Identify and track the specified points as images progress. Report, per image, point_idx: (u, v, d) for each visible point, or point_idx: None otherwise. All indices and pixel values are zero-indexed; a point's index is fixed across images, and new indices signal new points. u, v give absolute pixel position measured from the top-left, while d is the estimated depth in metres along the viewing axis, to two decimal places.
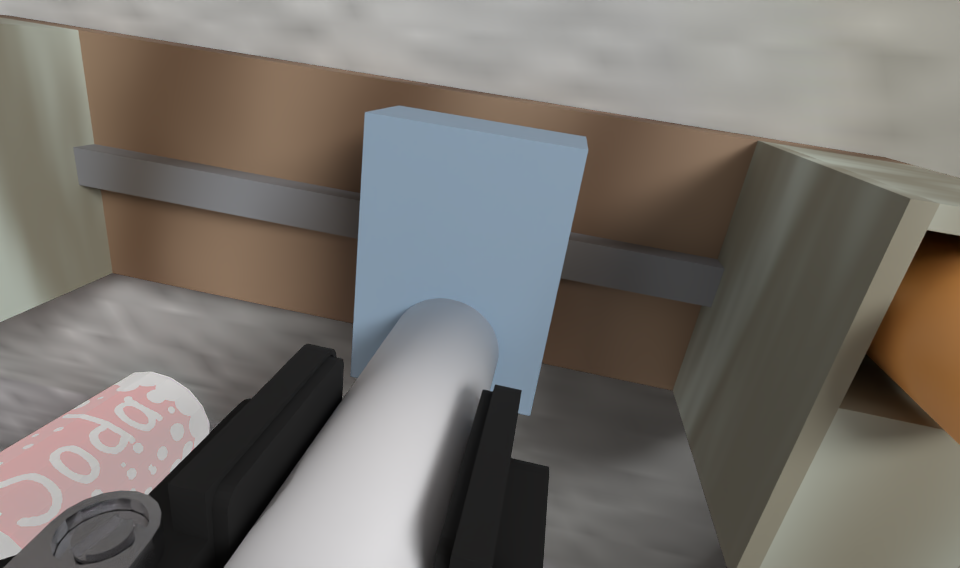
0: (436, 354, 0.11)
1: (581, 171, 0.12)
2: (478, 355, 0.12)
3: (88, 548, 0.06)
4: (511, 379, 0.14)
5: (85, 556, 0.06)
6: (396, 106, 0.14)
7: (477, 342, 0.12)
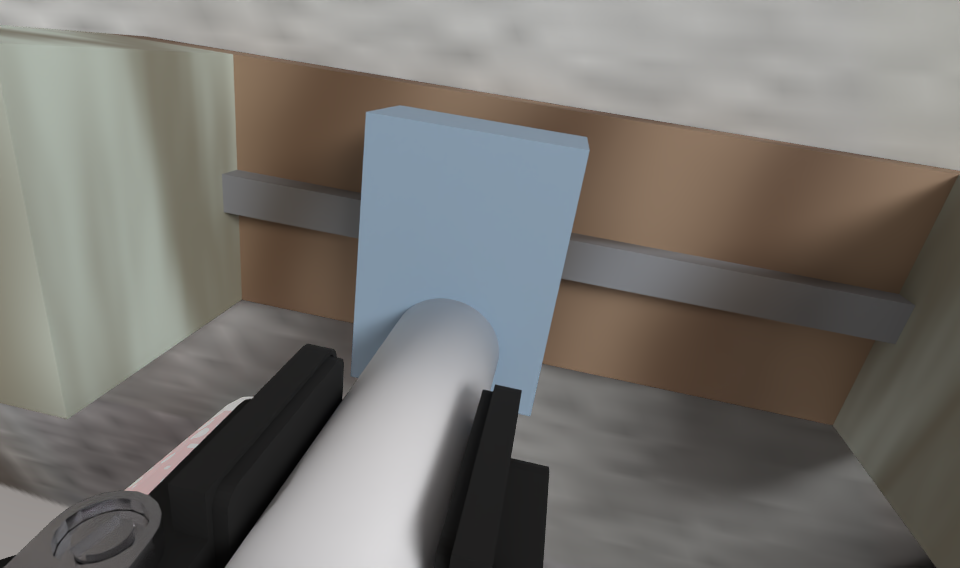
0: (436, 354, 0.11)
1: (582, 171, 0.12)
2: (479, 355, 0.12)
3: (88, 548, 0.06)
4: (511, 379, 0.14)
5: (85, 556, 0.06)
6: (397, 106, 0.14)
7: (478, 343, 0.12)
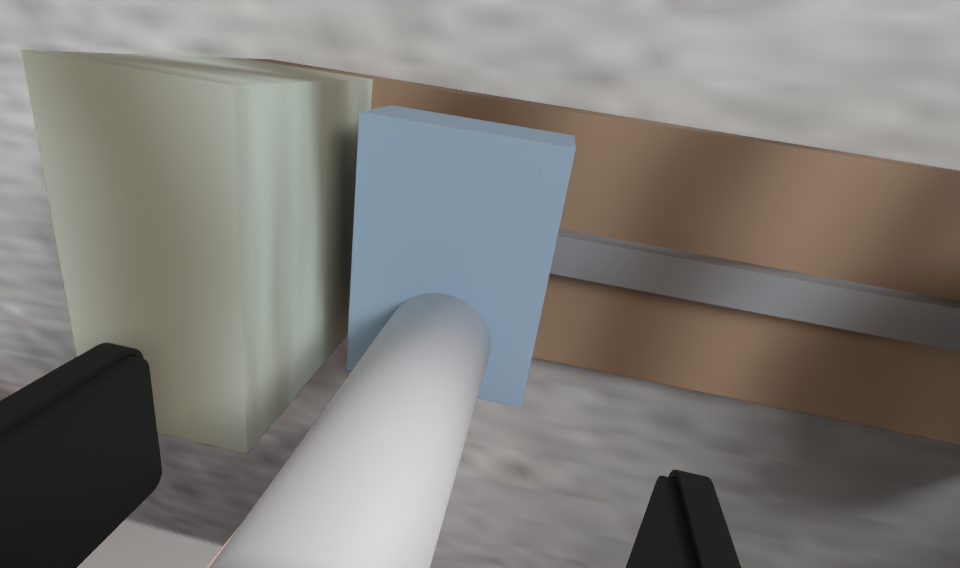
0: (428, 345, 0.11)
1: (569, 169, 0.12)
2: (470, 347, 0.12)
3: None
4: (502, 372, 0.14)
5: None
6: (390, 106, 0.14)
7: (469, 335, 0.12)
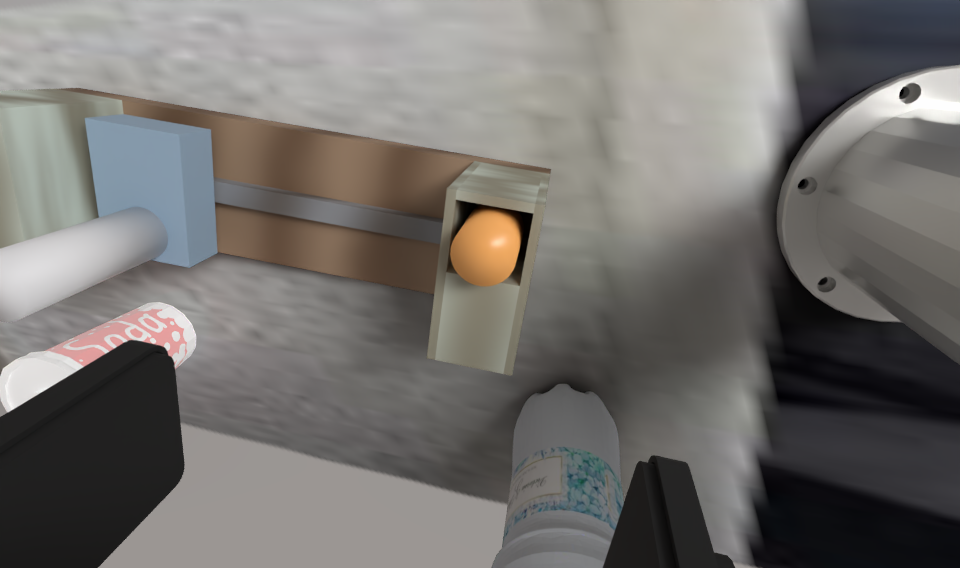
0: (104, 221, 0.25)
1: (178, 144, 0.26)
2: (136, 227, 0.26)
3: None
4: (176, 248, 0.28)
5: None
6: None
7: (140, 223, 0.26)
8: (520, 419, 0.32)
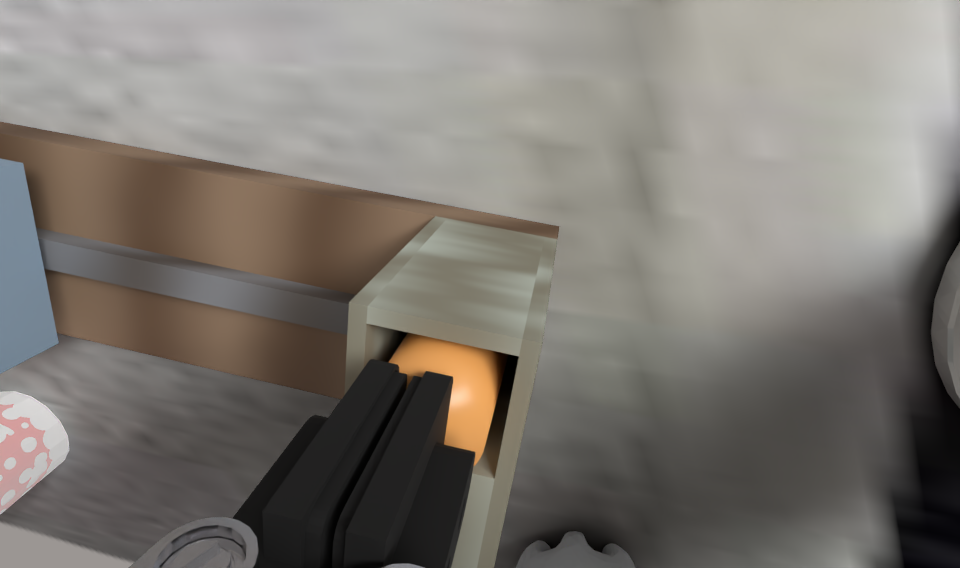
0: None
1: None
2: None
3: None
4: None
5: None
6: None
7: None
8: None
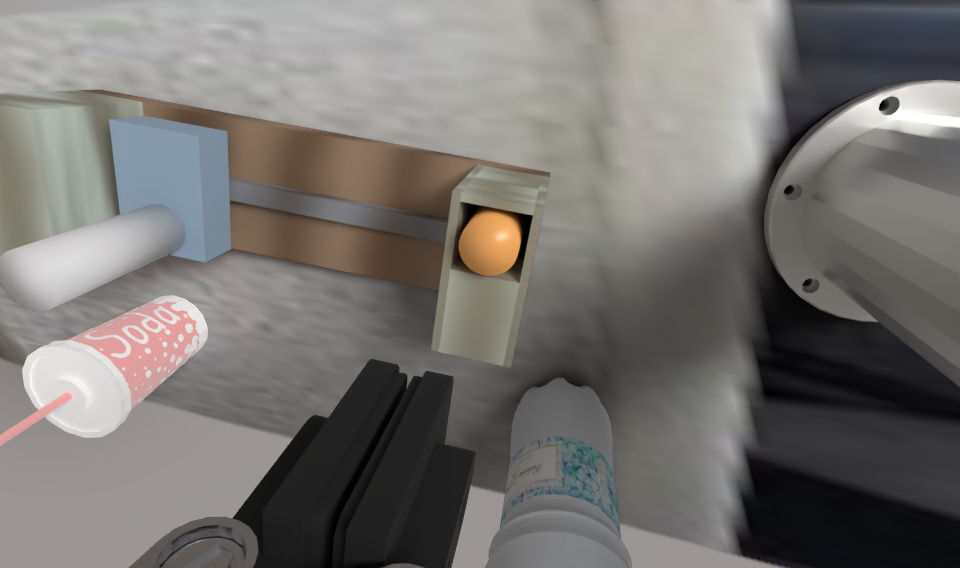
0: (127, 218, 0.27)
1: (198, 145, 0.27)
2: (157, 223, 0.28)
3: None
4: (193, 244, 0.30)
5: None
6: (140, 116, 0.30)
7: (160, 219, 0.28)
8: (518, 411, 0.33)
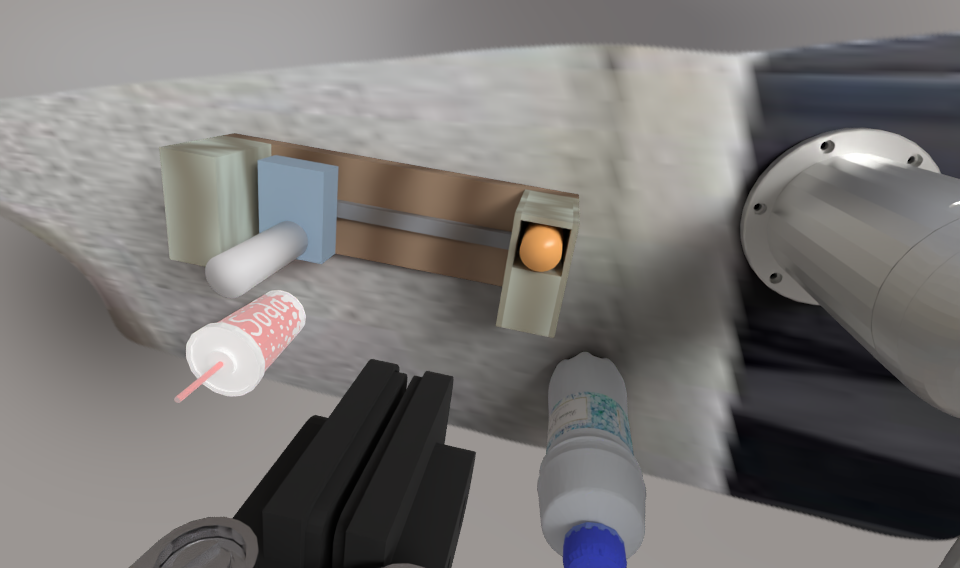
0: (275, 232, 0.37)
1: (323, 178, 0.38)
2: (292, 235, 0.38)
3: None
4: (313, 250, 0.40)
5: None
6: None
7: (294, 232, 0.38)
8: (554, 376, 0.43)
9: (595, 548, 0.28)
